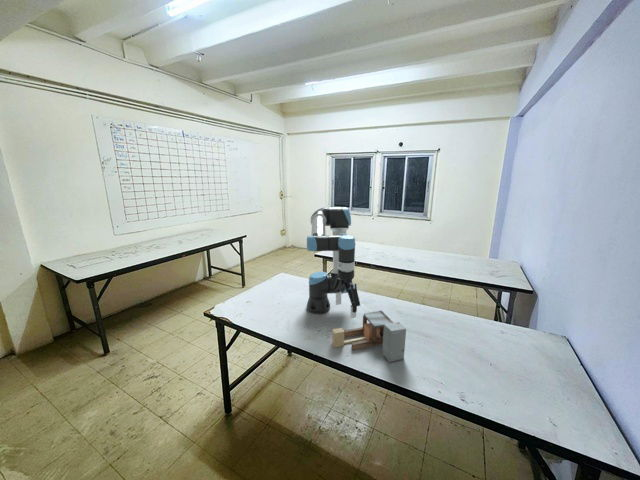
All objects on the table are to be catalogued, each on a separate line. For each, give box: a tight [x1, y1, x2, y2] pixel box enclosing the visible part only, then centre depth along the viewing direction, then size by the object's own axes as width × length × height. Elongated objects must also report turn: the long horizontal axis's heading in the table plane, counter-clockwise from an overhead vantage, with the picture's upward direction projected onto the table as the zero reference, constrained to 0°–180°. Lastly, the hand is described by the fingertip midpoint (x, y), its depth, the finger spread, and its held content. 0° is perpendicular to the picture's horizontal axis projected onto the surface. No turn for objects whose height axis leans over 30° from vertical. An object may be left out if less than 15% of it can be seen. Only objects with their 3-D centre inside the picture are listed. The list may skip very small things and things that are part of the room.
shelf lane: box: [343, 310, 395, 351], centre depth 130 cm, size 12×22×11 cm, turn 106°
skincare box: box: [381, 321, 407, 363], centre depth 117 cm, size 8×7×16 cm
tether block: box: [331, 322, 381, 348], centre depth 128 cm, size 6×24×8 cm, turn 105°
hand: (345, 310), depth 121 cm, fingers open, 13 cm apart
